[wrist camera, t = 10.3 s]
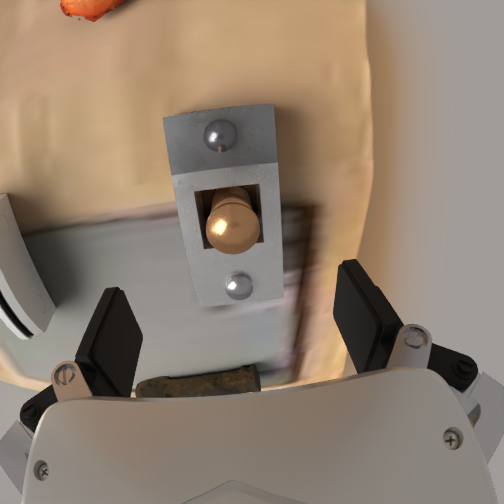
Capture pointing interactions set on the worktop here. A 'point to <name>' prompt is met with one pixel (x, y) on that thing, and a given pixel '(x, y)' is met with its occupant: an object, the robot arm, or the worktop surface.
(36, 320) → the grey toaster
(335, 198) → the worktop surface
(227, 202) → the pin
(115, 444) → the robot arm
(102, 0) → the tomato
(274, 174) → the grey latch plate
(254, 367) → the dark brown rounded rod
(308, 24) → the worktop surface
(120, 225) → the worktop surface
